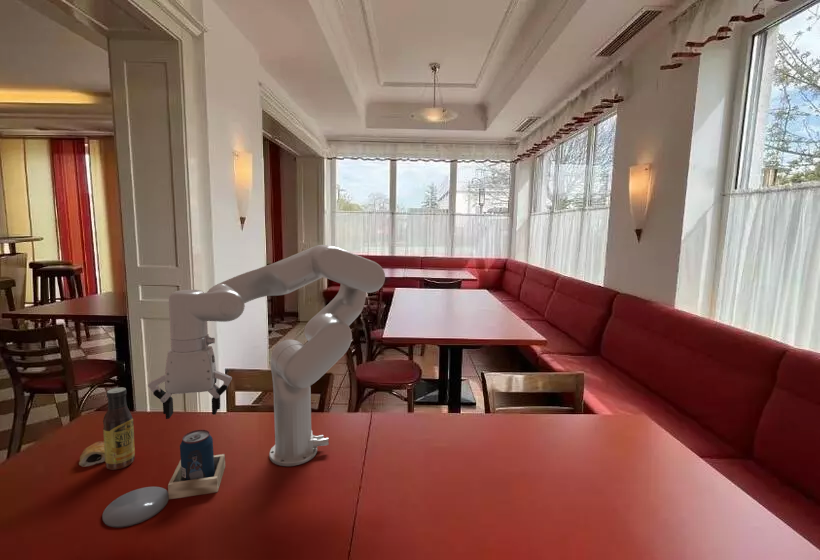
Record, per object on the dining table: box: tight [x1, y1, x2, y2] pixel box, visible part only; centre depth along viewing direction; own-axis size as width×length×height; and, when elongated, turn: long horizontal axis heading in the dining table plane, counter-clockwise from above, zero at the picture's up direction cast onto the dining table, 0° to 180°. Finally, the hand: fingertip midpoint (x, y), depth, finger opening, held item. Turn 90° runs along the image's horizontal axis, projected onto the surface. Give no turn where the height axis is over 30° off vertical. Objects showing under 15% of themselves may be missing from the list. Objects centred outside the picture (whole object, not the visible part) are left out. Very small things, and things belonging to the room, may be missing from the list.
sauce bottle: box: [102, 386, 136, 471], centre depth 101 cm, size 6×6×20 cm
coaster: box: [101, 486, 170, 529], centre depth 87 cm, size 12×12×1 cm
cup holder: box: [167, 453, 226, 500], centre depth 95 cm, size 10×10×4 cm
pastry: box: [78, 440, 106, 468], centre depth 105 cm, size 9×7×4 cm
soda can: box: [179, 429, 216, 481], centre depth 95 cm, size 7×7×12 cm
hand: (192, 414), depth 93 cm, fingers open, 9 cm apart
